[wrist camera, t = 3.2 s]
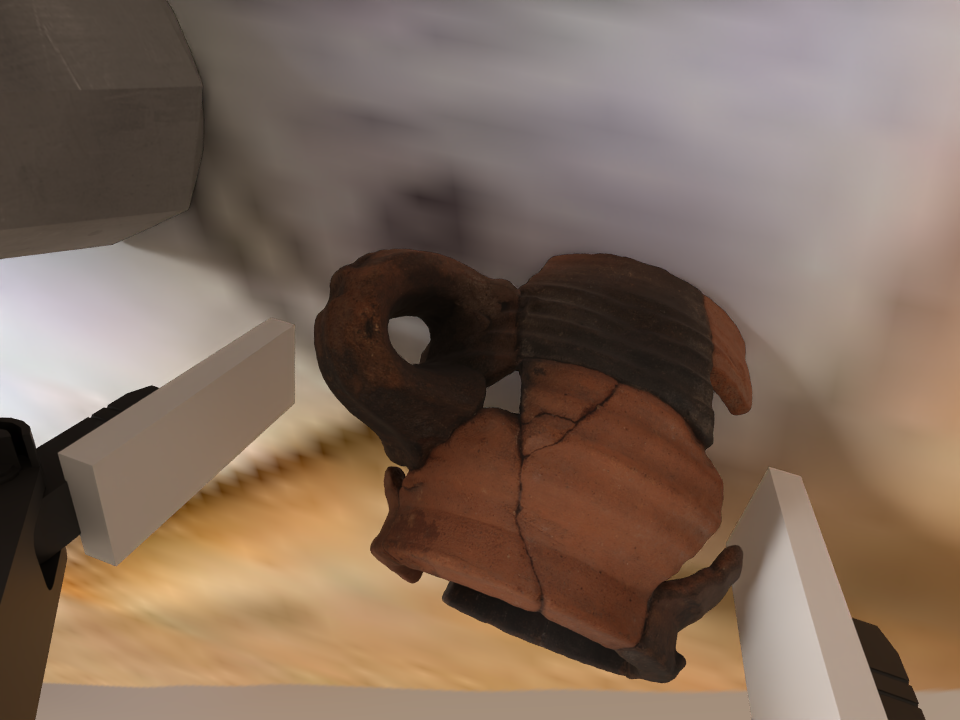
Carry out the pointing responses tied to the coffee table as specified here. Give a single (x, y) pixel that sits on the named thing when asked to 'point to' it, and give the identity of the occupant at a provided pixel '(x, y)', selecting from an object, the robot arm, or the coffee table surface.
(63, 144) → the coffeepot
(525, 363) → the pottery mug
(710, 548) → the coffee table surface
